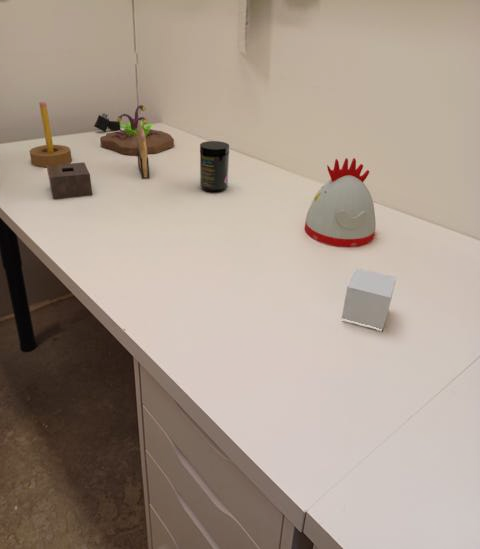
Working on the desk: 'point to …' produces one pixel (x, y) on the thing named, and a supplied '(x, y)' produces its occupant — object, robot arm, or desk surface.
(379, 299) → the light grey cube
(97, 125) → the lighter
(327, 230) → the kitchen timer
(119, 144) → the plant
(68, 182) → the block
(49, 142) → the pencil
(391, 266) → the desk surface
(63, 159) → the tape roll
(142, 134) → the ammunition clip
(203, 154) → the supplement container
